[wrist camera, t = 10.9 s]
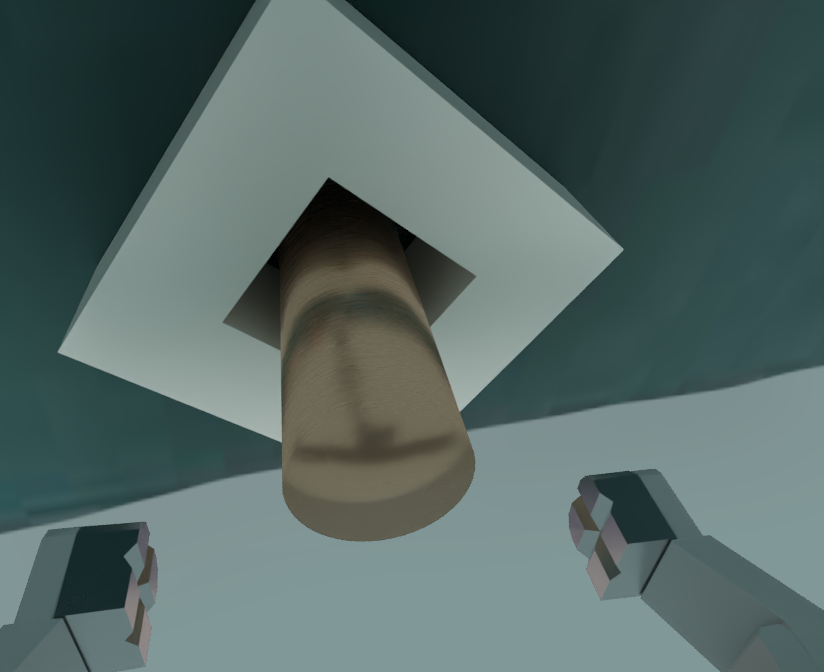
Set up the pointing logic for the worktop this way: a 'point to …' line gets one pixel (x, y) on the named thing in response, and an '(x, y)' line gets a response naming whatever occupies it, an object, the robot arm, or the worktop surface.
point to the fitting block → (292, 192)
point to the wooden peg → (362, 381)
